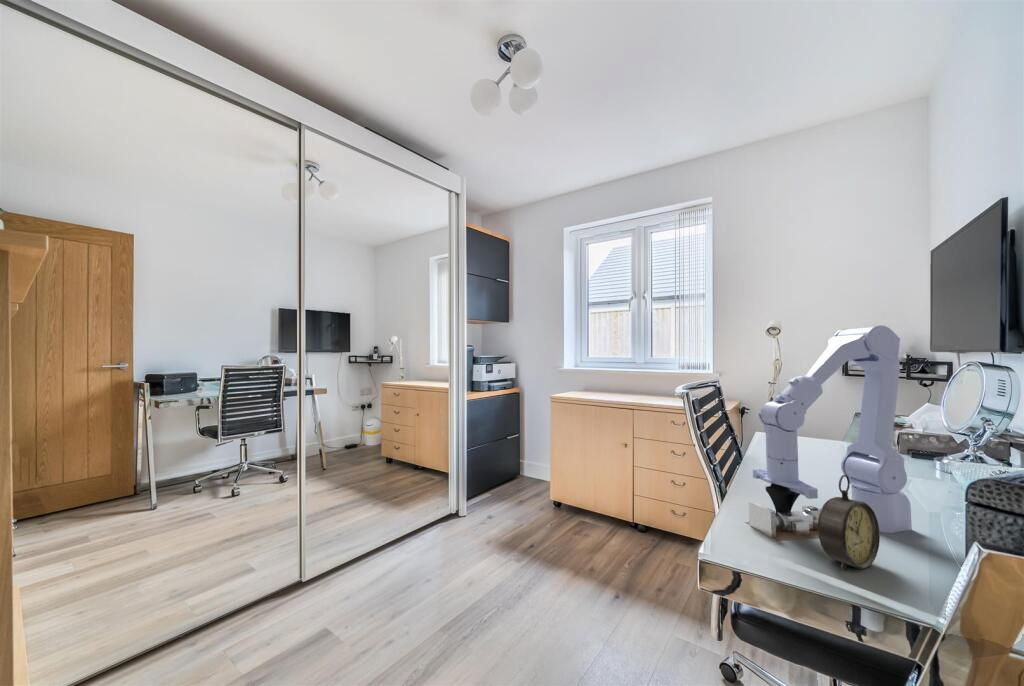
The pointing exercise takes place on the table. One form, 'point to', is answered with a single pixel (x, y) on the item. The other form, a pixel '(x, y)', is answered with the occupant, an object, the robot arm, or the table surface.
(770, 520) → the square plate with knob
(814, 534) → the board
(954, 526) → the table surface
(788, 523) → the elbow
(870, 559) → the alarm clock
